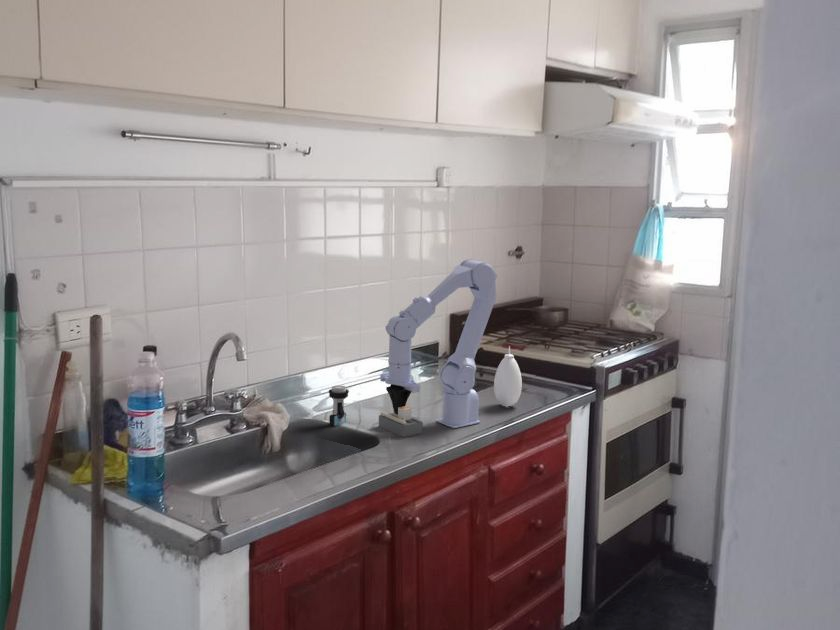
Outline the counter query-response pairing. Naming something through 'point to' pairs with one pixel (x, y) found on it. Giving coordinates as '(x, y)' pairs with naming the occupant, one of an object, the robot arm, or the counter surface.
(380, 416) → the grey shallow tray
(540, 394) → the counter surface
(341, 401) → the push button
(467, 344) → the robot arm
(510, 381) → the air blower bulb
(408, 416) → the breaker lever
